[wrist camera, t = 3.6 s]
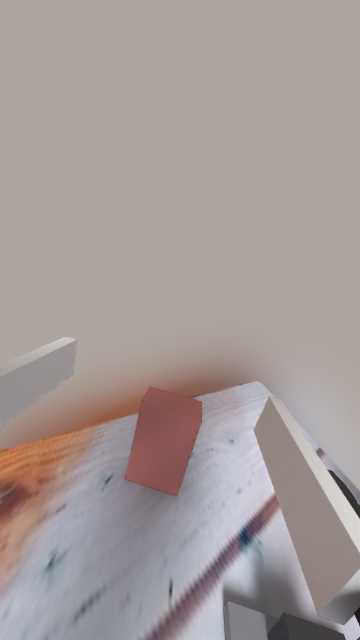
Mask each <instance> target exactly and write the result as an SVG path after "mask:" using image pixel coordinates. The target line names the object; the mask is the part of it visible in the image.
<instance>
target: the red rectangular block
mask: <svg viewBox="0 0 360 640" xmlns="http://www.w3.org/2000/svg"><path fill="white" fill-rule="evenodd" d="M201 422H202V402H201V401H198V400H194V399H191V398H188V397H184V396H181V395H177V394H174V393H170V392H167V391H163V390H160V389H157V388H153V387H149V388H148V390H147V392H146V394H145V396H144V399H143V401H142V403H141V407H140V412H139V416H138V421H137V426H136V430H135V435H134V440H133V444H132V449H131V454H130V459H129V463H128V468H127V473H126V477H125V479H126V480H129V481H132V482H135V483H138V484H141V485H144V486H147V487H150V488H153V489H156V490H159V491H162V492H165V493H168V494H171V495H174V496H177V494H178V491H179V488H180V485H181V482H182V479H183V476H184V473H185V470H186V467H187V464H188V461H189V458H190V455H191V452H192V449H193V446H194V443H195V440H196V437H197V434H198V431H199V428H200V425H201Z"/></svg>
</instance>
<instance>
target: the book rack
mask: <svg viewBox="0 0 360 640" xmlns="http://www.w3.org/2000/svg"><path fill="white" fill-rule="evenodd" d="M223 610H224V625H225V640H346V639H345V636H344V634H342V633H339V632H336V631H334V630H331V629H328V628H325V627H322V626H320V625H317V624H314V623H311V622H308V621H306V620H303V619H300V618H297V617H294V616H291V615H289V614H286V613H283V615H282V616H281V617H280V619H277V618H275V617H272V616H269V615H266V614H264V613H261V612H258V611H255V610H252V609H250V608H247V607H244V606H241V605H238V604H236V603H233V602H230V601H227V603H226V605H225V607H224V608H223Z"/></svg>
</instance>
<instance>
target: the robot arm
mask: <svg viewBox="0 0 360 640" xmlns="http://www.w3.org/2000/svg"><path fill="white" fill-rule="evenodd" d="M76 344H77V339H73V338H70V337H64V338H62V339H60V340H57V341H55V342H52V343H50V344H48V345H45V346H43V347H41V348H38V349H36V350H34V351H31V352H29V353H26V354H24V355H22V356H19V357H17V358H15V359H12V360H10V361H8V362H5V363H3V364H0V428H2V427H3V426H4V425H6V424H7V423H8V422H10V421H11V420H13V419H14V418H15V417H17V416H18V415H19V414H21V413H22V412H23V411H25V410H26V409H27V408H29V407H30V406H31V405H33V404H34V403H36V402H37V401H38V400H39V399H41V398H42V397H44V396H45V395H46V394H47V393H49V392H50V391H51V390H53V389H54V388H56V387H57V386H58V385H60V384H61V383H63V382H64V381H65V380H67V379H68V378H69V377H71V376H72V375H73V373H74V364H75V354H76V346H77V345H76ZM254 432H255V435H256V438H257V441H258V444H259V447H260V450H261V453H262V455H263V458H264V461H265V464H266V467H267V470H268V473H269V476H270V479H271V481H272V484H273V487H274V490H275V493H276V496H277V499H278V502H279V504H280V507H281V510H282V513H283V516H284V519H285V522H286V525H287V528H288V530H289V533H290V536H291V539H292V542H293V545H294V548H295V551H296V553H297V556H298V559H299V562H300V565H301V568H302V571H303V574H304V577H305V579H306V582H307V585H308V588H309V591H310V594H311V597H312V600H313V602H314V605H315V608H316V611H317V614H318V616H320V617H323V618H325V619H328V620H331V621H334V622H336V623H339V624H342V625H345V624H346V623H347V622H348V621H349V620H350V619H351V618H352V617H353V615H355V617H356V619H357V621H358V623H359V625H360V505H358V504H357V501H356V499H355V498H354V496H353V495H352V493H351V492H350V491H349V489H348V488H347V486H346V485H345V484H344V483H343V482H342V481H341V480H340V479H339V478H338V477H337V476H336V474H335V473H334V472H333V471H331V470H328V469H326V467H325V466H324V464H323V463H322V461H321V460H320V458H319V457H318V455H317V454H316V452H315V450H314V449H313V447H312V446H311V444H310V443H309V441H308V440H307V438H306V437H305V435H304V434H303V432H302V431H301V429H300V428H299V426H298V425H297V423H296V422H295V420H294V419H293V417H292V416H291V414H290V413H289V411H288V410H287V409H286V407H285V405H284V404H283V402H282V401H281V400H279V399H276V398H273V397H269V398H268V400H267V402H266V404H265V407H264V409H263V411H262V413H261V415H260V418H259V420H258V422H257V424H256V426H255V429H254ZM357 640H360V637H359V638H358V639H357Z"/></svg>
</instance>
